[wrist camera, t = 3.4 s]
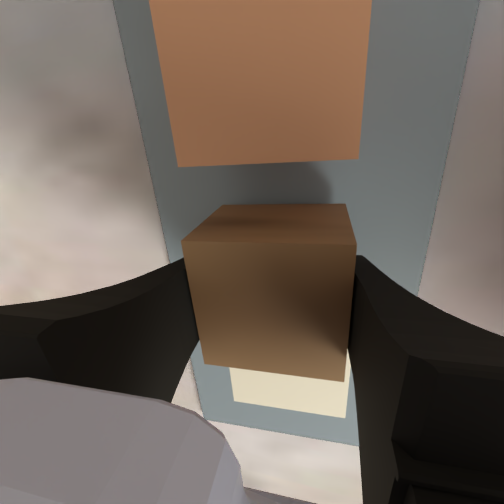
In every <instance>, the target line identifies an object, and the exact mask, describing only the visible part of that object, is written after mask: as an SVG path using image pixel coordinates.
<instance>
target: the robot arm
mask: <svg viewBox="0 0 504 504" xmlns="http://www.w3.org/2000/svg"><path fill="white" fill-rule="evenodd" d="M199 340H200V339H199V334H198V329H197V323H196V318H195V313H194V308H193V303H192V297H191V292H190V287H189V282H188V277H187V271H186V266H185V261H184V258H181V259H179V260H177V261H175V262H173V263H170V264H168V265H166V266H164V267H161V268H159V269H157V270H154V271H152V272H149V273H147V274H145V275H142V276H140V277H137V278H134V279H131V280H128V281H125V282H122V283H119V284H116V285H113V286H109V287H105V288H102V289H98V290H94V291H90V292H86V293H82V294H77V295H72V296H67V297H62V298H56V299H51V300H44V301H38V302H30V303H22V304H14V305H5V306H0V504H316V503H311V502H307V501H303V500H298V499H294V498H290V497H285V496H281V495H277V494H272V493H268V492H264V491H259V490H255V489H251V488H246V487H243V481H242V475H241V468H240V464H239V462H238V460H237V459H236V457H235V455H234V453H233V451H232V449H231V447H230V446H229V444H228V442H227V440H226V438H225V436H224V434H223V433H222V432H221V431H220V430H218V429H217V428H216V427H214V426H213V425H212V424H211V423H209V422H208V421H207V420H205V419H204V418H203V417H201V416H200V415H199V414H197V413H196V412H195V411H192V410H189V409H186V408H183V407H180V406H178V405H175V404H172V403H171V401H172V399H173V396H174V394H175V391H176V388H177V386H178V384H179V381H180V379H181V376H182V374H183V372H184V369H185V367H186V365H187V363H188V360H189V358H190V356H191V354H192V353H193V351H194V349H195V347H196V346H197V344H198V342H199ZM347 349H348V354H349V359H350V364H351V369H352V374H353V381H354V388H355V400H356V412H357V424H358V437H359V450H360V465H361V479H362V495H363V504H504V337H503V336H500V335H498V334H495V333H492V332H490V331H487V330H485V329H482V328H480V327H477V326H475V325H472V324H470V323H468V322H466V321H463V320H461V319H459V318H457V317H455V316H452V315H450V314H448V313H446V312H444V311H442V310H440V309H438V308H436V307H434V306H433V305H431V304H429V303H427V302H426V301H424V300H422V299H420V298H418V297H417V296H415V295H414V294H412V293H410V292H409V291H407V290H406V289H405V288H403V287H402V286H400V285H399V284H397V283H396V282H395V281H393V280H392V279H391V278H389V277H388V276H387V275H386V274H384V273H383V272H382V271H381V270H379V269H378V268H377V267H376V266H375V265H373V264H372V263H371V262H370V261H369V260H368V259H367V258H365V257H364V256H363V255H356V263H355V273H354V284H353V295H352V305H351V316H350V326H349V337H348V348H347Z"/></svg>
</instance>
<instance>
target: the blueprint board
mask: <svg viewBox="0 0 504 504" xmlns="http://www.w3.org/2000/svg"><path fill="white" fill-rule="evenodd" d="M479 1H480V0H372V6H371V18H370V30H369V42H368V53H367V65H366V77H365V89H364V101H363V112H362V124H361V136H360V148H359V159H350V160H328V161H306V162H284V163H262V164H240V165H217V166H195V167H178V164H177V158H176V153H175V147H174V141H173V136H172V130H171V124H170V118H169V113H168V107H167V101H166V96H165V90H164V84H163V79H162V73H161V67H160V62H159V56H158V50H157V45H156V39H155V33H154V28H153V22H152V16H151V11H150V5H149V0H113V4H114V8H115V13H116V17H117V22H118V27H119V31H120V36H121V40H122V45H123V49H124V54H125V59H126V63H127V68H128V72H129V77H130V82H131V86H132V91H133V95H134V100H135V105H136V109H137V114H138V118H139V123H140V127H141V132H142V137H143V141H144V146H145V150H146V155H147V160H148V164H149V169H150V173H151V178H152V182H153V187H154V192H155V196H156V201H157V205H158V210H159V215H160V219H161V224H162V228H163V233H164V238H165V242H166V247H167V251H168V256H169V260H170V263H173V262H175V261H177V260H179V259H181V258H184V256H183V251H182V245H181V240H182V239H183V238H185V237H186V236H187V235H188V234H189V233H190V232H192V231H193V230H194V229H195V228H196V227H197V226H198V225H200V224H201V223H202V222H203V221H204V220H205V219H207V218H208V217H209V216H210V215H211V214H212V213H213V212H215V211H216V210H217V209H218V208H219V207H220V206H222V205H248V204H346V207H347V211H348V214H349V218H350V221H351V225H352V228H353V232H354V235H355V239H356V242H357V252H356V255H363V256H364V257H365V258H367V259H368V260H369V261H370V262H371V263H372V264H373V265H375V266H376V267H377V268H378V269H379V270H381V271H382V272H383V273H384V274H386V275H387V276H388V277H389V278H391V279H392V280H393V281H395V282H396V283H397V284H399V285H400V286H402V287H403V288H405V289H406V290H407V291H409V292H410V293H412V294H414V295H415V296H417V295H418V291H419V286H420V281H421V276H422V272H423V267H424V262H425V258H426V253H427V248H428V243H429V239H430V234H431V229H432V224H433V220H434V215H435V210H436V205H437V201H438V196H439V191H440V186H441V182H442V177H443V172H444V167H445V163H446V158H447V153H448V148H449V144H450V139H451V134H452V129H453V125H454V120H455V115H456V110H457V106H458V101H459V96H460V91H461V87H462V82H463V77H464V72H465V68H466V63H467V58H468V53H469V49H470V44H471V39H472V34H473V30H474V25H475V20H476V15H477V11H478V6H479ZM190 357H191V361H192V366H193V371H194V375H195V380H196V384H197V389H198V393H199V398H200V403H201V407H202V412H203V416H204V419H205V420H210V421H216V422H221V423H227V424H233V425H239V426H244V427H250V428H256V429H262V430H267V431H273V432H279V433H285V434H290V435H296V436H302V437H307V438H313V439H319V440H325V441H330V442H336V443H342V444H348V445H353V446H359V437H358V424H357V412H356V400H355V388H354V381H353V374H352V369H351V364H350V359H349V354H348V349H347V358H346V369H345V379H344V382H338V381H330V380H323V379H315V378H307V377H300V376H292V375H284V374H277V373H269V372H261V371H254V370H246V369H238V368H231V367H223V366H215V365H208V364H204V360H203V355H202V349H201V344H200V340H199V342H198V344H197V346H196V347H195V349H194V351H193V353H192V354H191V356H190Z"/></svg>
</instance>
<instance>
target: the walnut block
mask: <svg viewBox="0 0 504 504" xmlns="http://www.w3.org/2000/svg"><path fill="white" fill-rule="evenodd" d="M181 245H182V251H183V256H184V261H185V266H186V271H187V277H188V282H189V287H190V292H191V297H192V303H193V308H194V313H195V318H196V323H197V329H198V334H199V339H200V344H201V349H202V355H203V360H204V364H208V365H215V366H223V367H231V368H238V369H246V370H254V371H261V372H269V373H277V374H284V375H292V376H300V377H307V378H315V379H323V380H330V381H338V382H344V379H345V369H346V358H347V348H348V337H349V326H350V316H351V305H352V295H353V284H354V273H355V263H356V252H357V242H356V239H355V235H354V232H353V228H352V225H351V221H350V218H349V214H348V211H347V207H346V204H248V205H222V206H220V207H219V208H218V209H217V210H216V211H215V212H213V213H212V214H211V215H210V216H209V217H208V218H207V219H205V220H204V221H203V222H202V223H201V224H200V225H198V226H197V227H196V228H195V229H194V230H193V231H192V232H190V233H189V234H188V235H187V236H186V237H185V238H183V239H182V240H181Z"/></svg>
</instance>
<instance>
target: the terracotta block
mask: <svg viewBox="0 0 504 504" xmlns="http://www.w3.org/2000/svg"><path fill="white" fill-rule="evenodd" d="M149 5H150V11H151V16H152V22H153V28H154V33H155V39H156V45H157V50H158V56H159V62H160V67H161V73H162V79H163V84H164V90H165V96H166V101H167V107H168V113H169V118H170V124H171V130H172V136H173V141H174V147H175V153H176V158H177V164H178V167H195V166H217V165H240V164H262V163H284V162H306V161H328V160H350V159H359V148H360V136H361V124H362V112H363V101H364V89H365V77H366V65H367V53H368V42H369V30H370V18H371V6H372V0H149Z"/></svg>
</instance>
